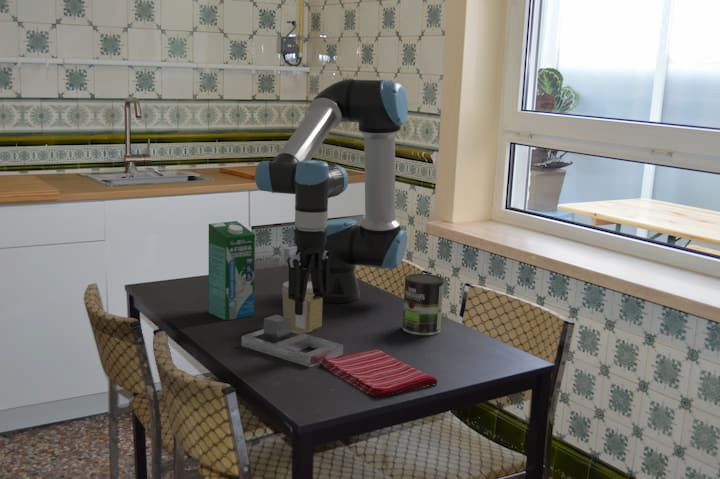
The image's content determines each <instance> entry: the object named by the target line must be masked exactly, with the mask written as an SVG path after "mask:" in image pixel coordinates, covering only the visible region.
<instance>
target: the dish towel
mask: <svg viewBox="0 0 720 479" xmlns="http://www.w3.org/2000/svg"><path fill="white" fill-rule="evenodd" d="M319 365H320V366H322V367H323V368H325V369H327V371H329V372H331V373H332V374H333V375H336V376H337V377H338V378H340V379H341V380H344V381H345V382H347V383H349V384H351V385H353V387H356V388H358V390H360V391H361V392H364V393H366V394H367V395H369V394H370V396H372V397H373V396H374V397H373V398H375V397H377V398H380V396H382V397H384V396H383V395H387V396H389V395H388V394H391V395H393V394H392V393H396V394H398V393H397V392H401V391H406V392H408V391H407V390H410V391H412V390H411V389H415V388H420V387H423V386H427V385H433V384H436V385H437V384H438V379H437V378H436V377H434V376H433V375H430V374H427V373H425V372H423V371H421V370H418V369H416V368H415V367H412V366H410V365H409V364H406V363H405V362H402V361H401V360H399V359H396V358H394V357H392V356H390V355H388V354H387V353H386V352H384V351H382V350H381V349H372V350H367V351H362V352H356V353H352V354H351V353H350V354H348V355H341V356H338V357H336V358H323V359H322V363H320V364H319ZM420 389H421V388H420ZM415 390H416V389H415ZM401 393H402V392H401Z"/></svg>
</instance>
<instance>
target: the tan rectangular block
mask: <svg viewBox="0 0 720 479" xmlns="http://www.w3.org/2000/svg"><path fill="white" fill-rule="evenodd" d="M304 301H307V321H306V330H309V331H310V330H312V331H313V330H315V329H316V330H317V329H319V328H321V327H322V326H323V303H324V302H323V298H321V297H317V296H313V295H309V294H307V295H305V300H304ZM295 327H296V314H295ZM298 328H299V327H298Z"/></svg>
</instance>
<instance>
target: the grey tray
mask: <svg viewBox="0 0 720 479" xmlns="http://www.w3.org/2000/svg"><path fill="white" fill-rule="evenodd" d="M241 347H243V348H247V349H250V350H253V351H257V352H260V353H263V354H267V355H270V356H272V357H276V358H279V359H282V360H285V361H288V362H292V363H295V364H298V365H301V366H305V367H307V368H313V367H315V366H318V365H320V363H322V359H323V358H336V357H341V356H344V344H343V343H342V344H341V343H339V342H335V341H331V340H328V339H325V338H321V337H317V336H314V335H311V334H307V333H301V332H297V331H294V330H290V338H289V339H286V340H283V341H280V342H277V343H270V342H267V341H264V328H263V329H259V330H256V331H253V332H250V333H246V334H244V335H241ZM308 348H311V349H314V350H311V351H308V352H303V351H302V350H304V349H308Z"/></svg>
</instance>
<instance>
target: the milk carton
mask: <svg viewBox="0 0 720 479" xmlns="http://www.w3.org/2000/svg"><path fill="white" fill-rule="evenodd" d="M255 239H256V234H255V233H254V232H252V231H251V230H250V229H248V228H247V227H246V226H244V225H243V224H242V223H240V222H238V220H233V221H227V222H226V221H225V222H223V221H222V222H213V223H208V313H209V314H211V315H213V316H215V317H218V318H219V319H222V320H224V321H227V322H228V321H229V320H230V321H231V320H235V319H241V318H245V317H251V316H255V314H254V313H255V254H256V247H255V246H256V240H255Z"/></svg>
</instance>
